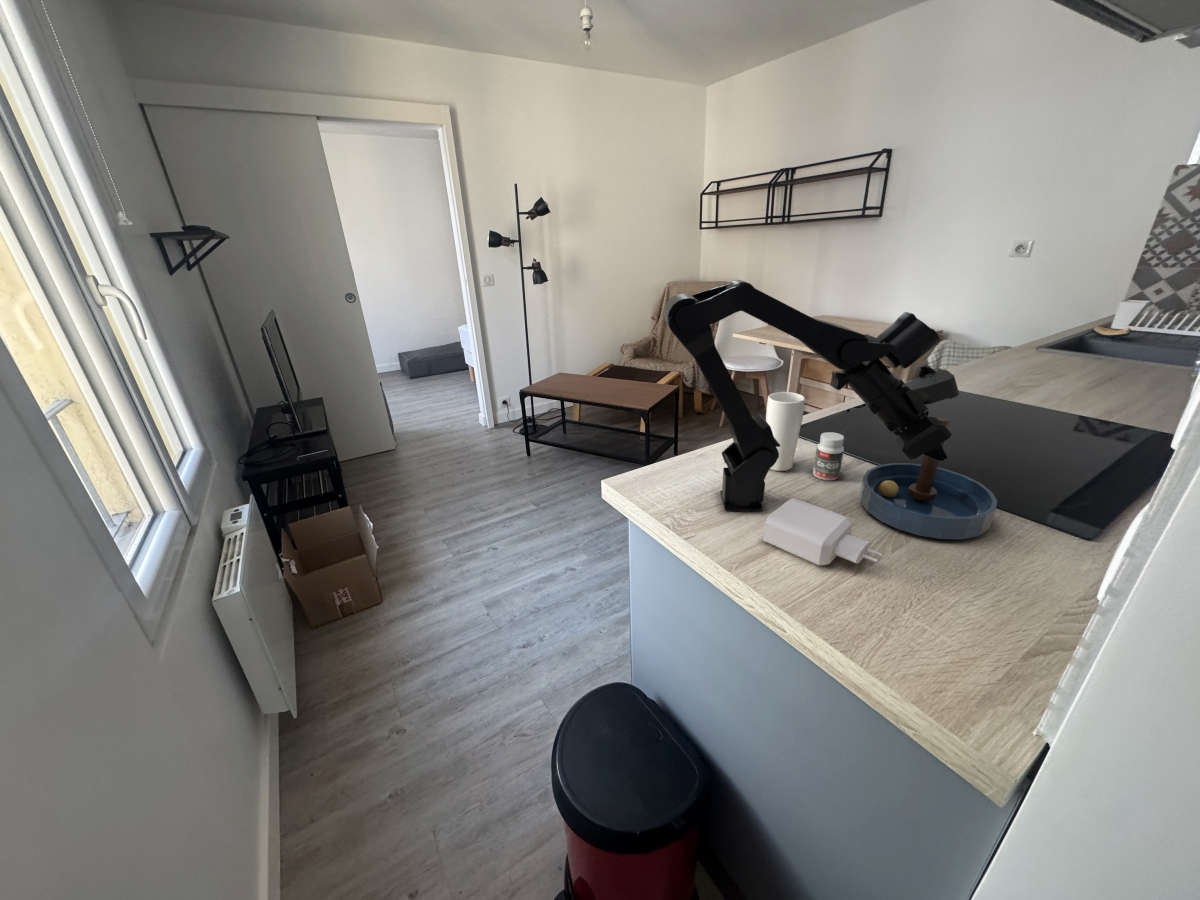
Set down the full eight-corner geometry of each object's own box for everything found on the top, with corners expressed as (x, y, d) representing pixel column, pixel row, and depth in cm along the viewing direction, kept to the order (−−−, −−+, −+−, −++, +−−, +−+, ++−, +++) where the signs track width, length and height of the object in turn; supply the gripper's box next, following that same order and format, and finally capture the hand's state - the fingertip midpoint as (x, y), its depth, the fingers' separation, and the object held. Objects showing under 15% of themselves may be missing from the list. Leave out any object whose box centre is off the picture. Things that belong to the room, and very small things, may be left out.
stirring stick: (927, 503, 77) (949, 425, 71) (902, 493, 81) (921, 418, 75) (940, 496, 79) (962, 419, 73) (915, 486, 82) (934, 412, 76)
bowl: (887, 543, 72) (893, 518, 70) (843, 484, 88) (847, 463, 86) (1017, 544, 69) (1027, 518, 68) (947, 484, 86) (953, 462, 84)
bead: (881, 490, 80) (872, 491, 83) (897, 500, 80) (887, 501, 82) (890, 476, 80) (880, 477, 83) (905, 485, 80) (895, 487, 83)
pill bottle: (812, 479, 91) (818, 439, 87) (812, 468, 94) (818, 430, 91) (839, 482, 89) (846, 442, 85) (838, 471, 93) (845, 432, 89)
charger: (863, 589, 63) (762, 543, 73) (888, 557, 69) (791, 519, 79) (870, 560, 61) (765, 518, 71) (895, 530, 67) (794, 495, 77)
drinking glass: (799, 474, 93) (808, 403, 86) (763, 473, 94) (769, 402, 88) (793, 459, 98) (801, 391, 92) (759, 458, 100) (765, 391, 94)
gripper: (951, 370, 63) (1024, 450, 64) (910, 340, 79) (968, 405, 80) (874, 422, 68) (943, 494, 70) (850, 384, 84) (906, 443, 86)
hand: (941, 455), depth 76 cm, fingers closed on stirring stick, 2 cm apart
